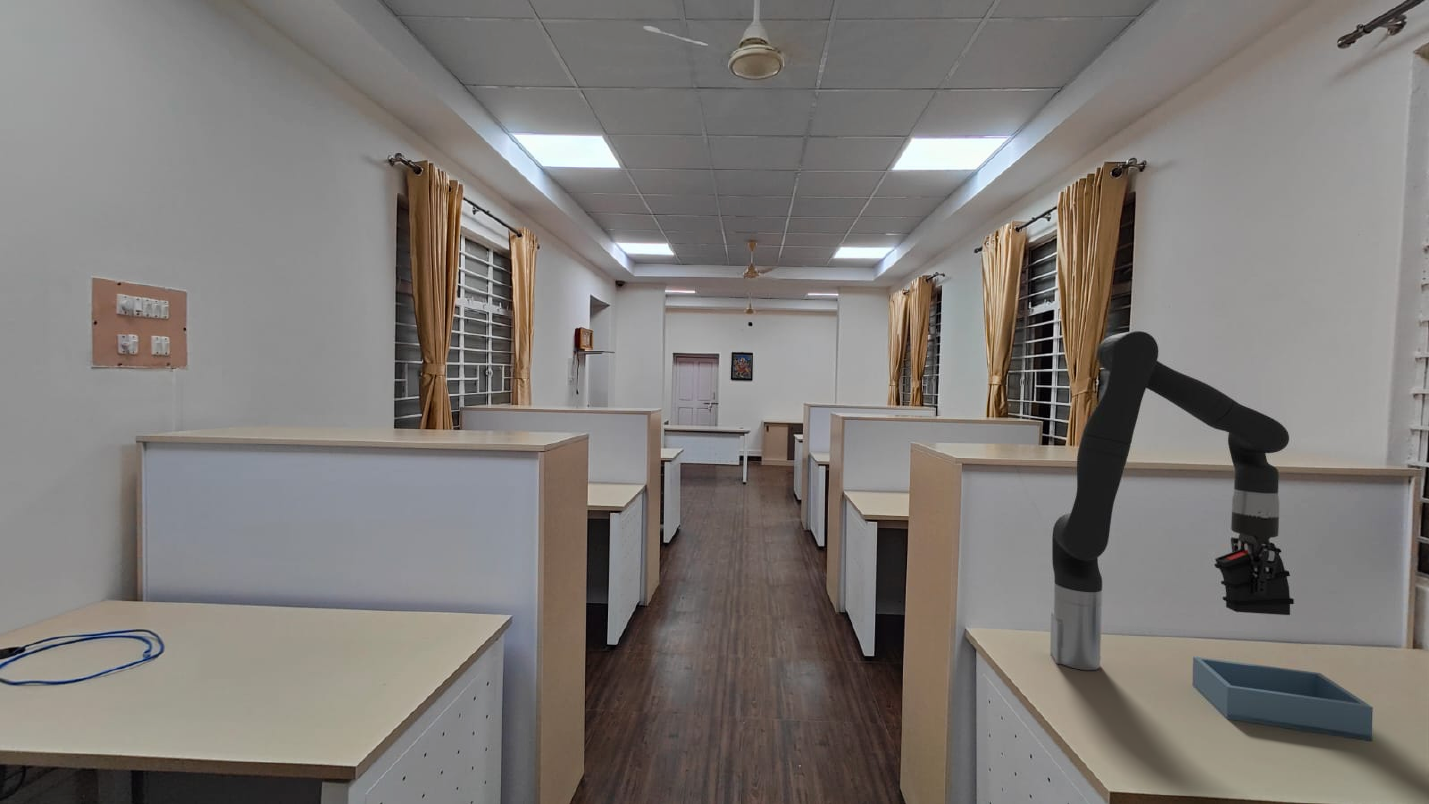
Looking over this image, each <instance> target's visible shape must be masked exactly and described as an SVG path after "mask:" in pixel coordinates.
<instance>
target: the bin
mask: <svg viewBox="0 0 1429 804" xmlns="http://www.w3.org/2000/svg"><path fill="white" fill-rule="evenodd" d="M1191 684H1192V686H1193V687H1194V688H1195V689H1196V690H1197V691H1198V692H1199V693H1200V694H1201V696H1203V697H1204V698H1205V699H1206V700H1207V701H1208V702H1209V703H1210V704H1211V706H1213V707H1214V708H1215V709H1216V710H1217V711H1218V712H1219V714H1221V715H1222V716H1223V717H1224V718H1225V719H1226V720H1231V721H1238V722H1244V723H1245V722H1246V723H1251V724H1256V725H1257V724H1258V725H1264V726H1270V727H1275V728H1276V727H1277V728H1284V729H1290V730H1296V731H1303V732H1309V733H1315V734H1320V735H1321V734H1322V735H1329V736H1334V737H1335V736H1336V737H1341V738H1342V737H1343V738H1348V739H1354V740H1361V741H1367V742H1372V741H1373V709H1374V707H1373V706H1372V705H1370V704H1368V703H1367V702H1365V701H1364V700H1362V699H1361V698H1359V697H1357V696H1356V695H1354V694H1353V693H1351V692H1350V691H1349V690H1347V689H1345V688H1344V687H1342V686H1341V685H1339V684H1337V683H1336V682H1334V681H1333V680H1331V679H1330V678H1329V677H1326V676H1325V675H1324V674H1322V673H1321V672H1315V671H1307V670H1301V669H1300V670H1299V669H1292V668H1285V667H1276V666H1270V665H1269V666H1268V665H1263V664H1262V665H1261V664H1253V663H1245V662H1238V661H1237V662H1236V661H1230V660H1223V659H1222V660H1221V659H1213V658H1207V657H1199V656H1193V657H1192V683H1191Z"/></svg>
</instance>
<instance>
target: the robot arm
mask: <svg viewBox="0 0 1429 804" xmlns="http://www.w3.org/2000/svg"><path fill="white" fill-rule="evenodd" d="M1096 358H1097V361H1098V363H1099V364H1100V366H1101V367H1102V368H1103V369H1104V370H1105V371H1107V372H1109V374H1108V375H1109V376H1108V379H1107V383H1106V388H1105V391H1104V393H1103V395H1102V397H1101V399H1100V401H1099V402H1098V403H1097V405H1096V407H1095V408H1094V410H1093V411H1092V413H1091V414H1090V416H1089V418H1088V420H1087V421H1086V424H1085V425H1084V427H1083V428H1084V429H1083V431H1082V435H1081V438H1080V443H1079V446H1078V450H1077V456H1076V484H1077V485H1076V493H1075V494H1076V495H1075V498H1074V503H1073V504H1072V505H1073V506H1072V509H1071V512H1069V513H1065V514H1063V515H1061V516H1060V517H1059V518H1058V519H1056V521H1055V523H1054V525H1053V528H1052V535H1051V536H1052V541H1051V544H1052V546H1051V547H1052V548H1051V549H1052V550H1051V551H1052V552H1051V553H1052V555H1051V556H1052V560H1051V561H1052V570H1053V575H1054V581H1053V582H1054V588H1053V589H1054V591H1053V593H1054V594H1053V612H1051V614H1050V645H1049V646H1050V647H1049V648H1050V650H1049V653H1050V655H1051V657H1052V658H1053V660H1054V662H1055V664H1058V665H1059V664H1060V665H1062V666H1063V665H1064V666H1066V667H1069V668H1072V669H1076V670H1083V671H1096V670H1099V669H1100V668H1101V661H1102V660H1101V659H1102V658H1101V657H1102V656H1101V645H1102V644H1101V643H1102V609H1103V608H1102V607H1103V606H1102V605H1103V578H1102V574H1101V571H1100V569H1099V562H1098V561H1099V559H1098V558H1099V557H1100V556H1101V555H1102V554H1103V553H1105V550H1106V549H1107V546H1108V544H1109V539H1110V538H1109V537H1110V531H1111V522H1112V515H1113V509H1114V508H1113V507H1114V504H1115V500H1116V496H1117V493H1118V491H1119V487H1120V485H1121V484H1120V483H1121V480H1122V477H1123V474H1124V469H1125V467H1126V464H1127V461H1128V456H1129V453H1130V449H1131V445H1132V441H1133V437H1134V431H1135V428H1136V424H1137V421H1138V418H1139V413H1140V410H1141V409H1140V408H1141V405H1142V401H1143V397H1144V395H1145V393H1146V389H1147V390H1150V391H1151V392H1153V393H1155V394H1157V395H1159V396H1160V397H1162V398H1164V399H1165V400H1167V401H1169V402H1170V403H1172V404H1174V405H1176V406H1177V407H1178V408H1180V409H1182V410H1183V411H1185V412H1186V413H1188V414H1189V415H1190V416H1191V417H1194V418H1196V419H1198V420H1199V421H1200V422H1202V423H1204V424H1206V425H1207V426H1208V427H1211V428H1213V429H1215V430H1219V431H1223V432H1226V433H1228V435H1227V445H1228V449H1229V455H1230V458H1231V461H1232V464H1233V468H1234V484H1233V486H1234V487H1233V489H1234V490H1233V495H1232V500H1231V523H1230V524H1231V525H1230V526H1231V527H1230V529H1231V531H1232V532H1234V533H1236V534H1239V535H1238V537H1231V538H1230V544H1231V545H1230V546H1231V552H1234V551H1237V550H1239V549H1243V550H1244V549H1245V551H1246V552H1247V553H1248V554H1249V559H1248V560H1249V565H1250V566H1251V569H1252V576H1253V577H1252V588H1251V592H1252V593H1253V594H1254V595H1260V596H1265V595H1266V580H1267V578H1274V576H1275V572H1276V568H1277V563H1278V559H1279V555H1280V553H1279V552H1276V551H1272V550H1271V549H1270V543H1271V542H1270V539H1271V538H1277V537H1278V536H1279V530H1280V529H1279V525H1280V500H1279V482H1280V481H1279V478H1280V477H1279V471H1278V469H1277V468H1276V466H1274V465H1272V464H1270V463H1269V462H1268V459H1267V455H1266V454H1274V453H1278V452H1281V451H1283V450H1284V449H1285V448H1286V447H1287V446H1288V444H1289V442H1290V435H1289V434H1290V433H1289V432H1288V430H1287V429H1286V427H1285V426H1284V425H1283V424H1281V423H1280V422H1279V421H1278V420H1276V419H1274V418H1272V417H1270V416H1268V415H1266V414H1264V413H1261V412H1259V411H1257V410H1255V409H1253V408H1250V407H1247V406H1245V405H1243V404H1241V403H1239V402H1237V401H1236V400H1234V399H1233V398H1231V397H1230V396H1229V395H1226V394H1225V393H1223V392H1221V391H1220V390H1219V389H1217V388H1215V387H1213V386H1212V385H1210V384H1208V383H1205V382H1203V381H1201V380H1199V379H1196V378H1194V377H1191V376H1189V375H1187V374H1184V373H1182V372H1180V371H1177V370H1175V369H1173V368H1170V367H1169V366H1167V365H1165V364H1164V363H1161V361H1159V360H1158V358H1159V345H1158V343H1157V340H1156V339H1155V338H1154V337H1153V336H1152V335H1151V334H1150V333H1148V332H1145V331H1140V330H1139V331H1138V330H1134V331H1133V330H1132V331H1126V332H1121V333H1116V334H1113V335H1111V336H1110V335H1109V336H1108V337H1106V338H1104V340H1102V341H1101V342H1100V343H1099V344H1098V347H1097V349H1096ZM1253 559H1254V560H1258V561H1259V562H1255V561H1254V560H1253ZM1257 566H1258V570H1257ZM1268 568H1270V569H1268Z"/></svg>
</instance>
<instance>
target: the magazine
mask: <svg viewBox="0 0 1429 804" xmlns="http://www.w3.org/2000/svg"><path fill="white" fill-rule="evenodd" d="M1270 549H1271V550H1272V551H1276V552H1279V559H1278V563H1277V568H1276V572H1275V576H1274V578H1267V580H1266V595H1265V596H1260V595H1254V594H1253V593H1252V592H1251V588H1252V577H1253V576H1252V569H1251V566H1250V565H1249V560H1248V559H1249V554H1248V553H1247V552H1246V551H1245V549H1244V550H1243V549H1239V550H1237V551H1234V552H1232V551H1231V552H1230V553H1226V554H1224V555H1221V556H1218V557H1217V558H1216V557H1215V562H1216V563H1214V567H1215V569H1219V571H1220V573H1221V575H1222V577H1223V578H1222V579H1223V580H1221V581H1220V583H1221V585H1223V586H1224V588H1225V596H1222V600H1223V601H1225V607H1226V608H1228V609H1229V610H1230V611H1231V610H1232V611H1233V612H1236V613H1248V614H1250V613H1251V614H1264V615H1278V616H1279V615H1280V616H1291V605H1294V604H1295V599H1294V598H1292V597H1291V596H1290V594H1291V593H1290V586H1289V585H1290V584H1289V581H1288V577H1291V574H1290V571H1289V570H1286V569H1285V566H1284V562H1283V560H1282V557H1281V555H1280V554H1281V553H1282V550H1281V548H1279V547H1276V545H1275V543H1274V542H1273V543H1272V542H1270ZM1253 560H1254V559H1253ZM1254 561H1255V562H1259V561H1258V560H1254ZM1268 569H1270V568H1268ZM1257 570H1258V566H1257Z"/></svg>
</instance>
